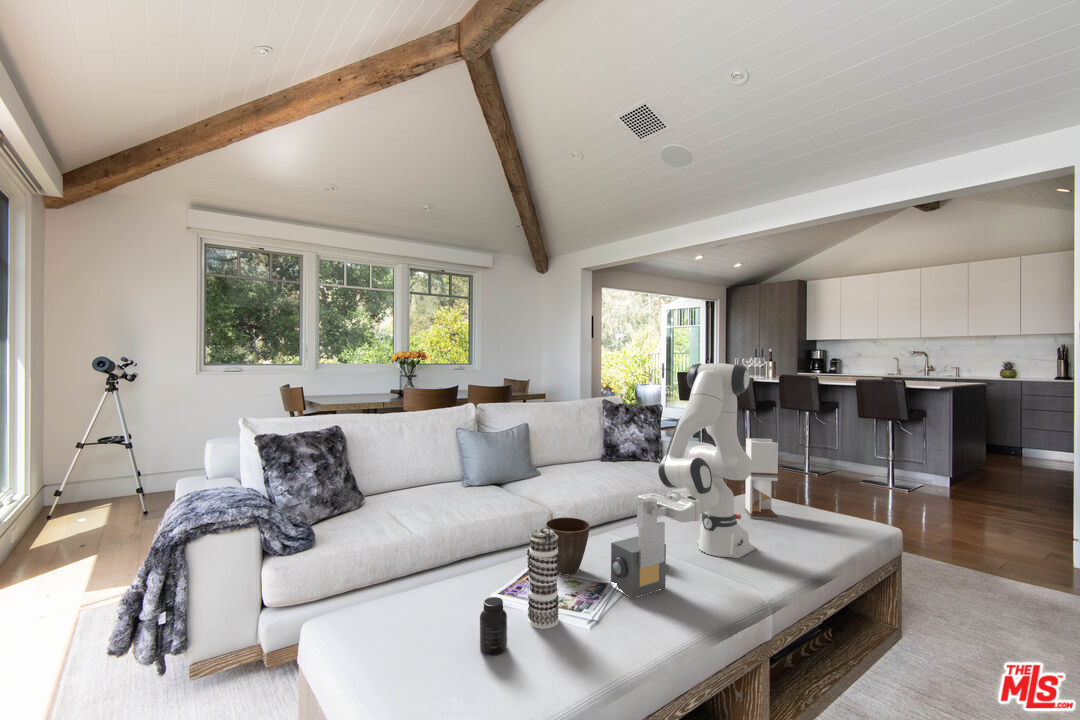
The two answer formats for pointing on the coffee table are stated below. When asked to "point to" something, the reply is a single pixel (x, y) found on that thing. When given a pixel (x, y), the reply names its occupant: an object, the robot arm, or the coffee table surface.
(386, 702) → the coffee table surface
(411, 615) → the coffee table surface
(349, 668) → the coffee table surface
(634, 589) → the block
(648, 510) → the side door
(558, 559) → the black white cylinder
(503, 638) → the supplement bottle
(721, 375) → the robot arm
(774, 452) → the white cabinet
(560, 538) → the plant pot
